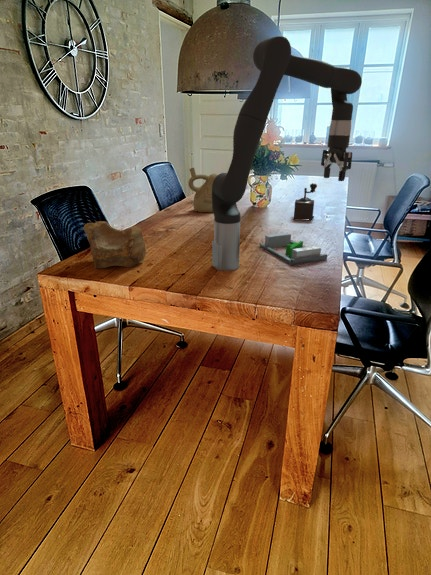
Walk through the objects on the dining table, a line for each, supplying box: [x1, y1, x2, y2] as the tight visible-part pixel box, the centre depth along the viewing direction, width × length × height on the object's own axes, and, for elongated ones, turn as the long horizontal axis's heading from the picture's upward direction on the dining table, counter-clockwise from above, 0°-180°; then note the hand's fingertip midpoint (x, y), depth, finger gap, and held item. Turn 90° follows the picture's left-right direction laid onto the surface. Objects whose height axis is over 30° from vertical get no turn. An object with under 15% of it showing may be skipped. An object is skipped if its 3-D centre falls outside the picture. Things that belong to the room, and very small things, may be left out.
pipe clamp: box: [285, 240, 304, 259], centre depth 153 cm, size 11×4×5 cm, turn 145°
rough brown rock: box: [83, 220, 147, 270], centre depth 138 cm, size 23×17×15 cm
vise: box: [259, 239, 328, 267], centre depth 154 cm, size 16×25×5 cm, turn 23°
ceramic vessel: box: [187, 167, 218, 213], centre depth 223 cm, size 17×20×25 cm
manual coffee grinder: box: [293, 183, 318, 221], centre depth 211 cm, size 16×11×18 cm
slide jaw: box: [264, 232, 292, 249], centre depth 163 cm, size 11×3×5 cm, turn 113°
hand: (333, 179), depth 145 cm, fingers open, 8 cm apart
